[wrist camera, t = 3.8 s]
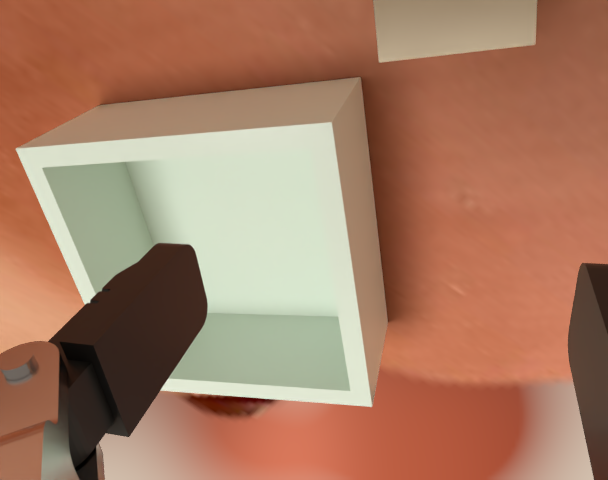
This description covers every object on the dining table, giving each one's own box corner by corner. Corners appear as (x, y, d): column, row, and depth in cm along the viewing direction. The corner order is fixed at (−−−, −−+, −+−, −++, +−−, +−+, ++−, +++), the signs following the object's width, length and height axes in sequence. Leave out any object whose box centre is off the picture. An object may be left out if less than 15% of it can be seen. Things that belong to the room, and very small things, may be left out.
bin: (99, 105, 30) (15, 148, 25) (360, 76, 26) (331, 122, 20) (173, 316, 37) (121, 387, 32) (388, 322, 33) (372, 406, 27)
